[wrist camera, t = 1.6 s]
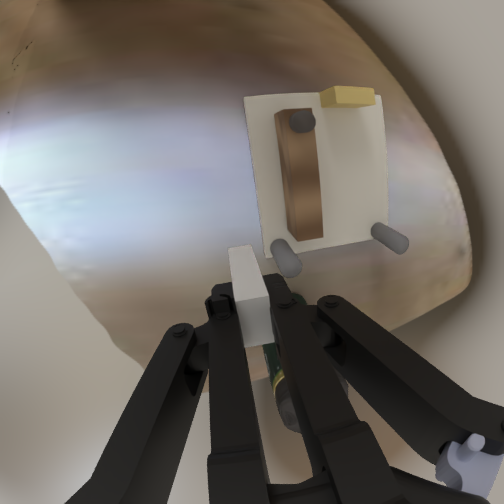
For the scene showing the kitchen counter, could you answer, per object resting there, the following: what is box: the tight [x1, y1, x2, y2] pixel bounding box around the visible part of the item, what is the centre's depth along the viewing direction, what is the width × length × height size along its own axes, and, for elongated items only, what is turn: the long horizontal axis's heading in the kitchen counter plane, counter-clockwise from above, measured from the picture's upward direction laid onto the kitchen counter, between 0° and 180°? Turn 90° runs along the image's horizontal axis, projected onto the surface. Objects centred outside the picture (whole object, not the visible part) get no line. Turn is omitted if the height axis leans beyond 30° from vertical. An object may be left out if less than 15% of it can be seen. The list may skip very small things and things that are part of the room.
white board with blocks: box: [243, 86, 409, 278], centre depth 30 cm, size 20×18×8 cm
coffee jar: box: [262, 293, 348, 434], centre depth 32 cm, size 10×8×19 cm
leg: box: [274, 108, 323, 242], centre depth 28 cm, size 14×3×6 cm, turn 8°
